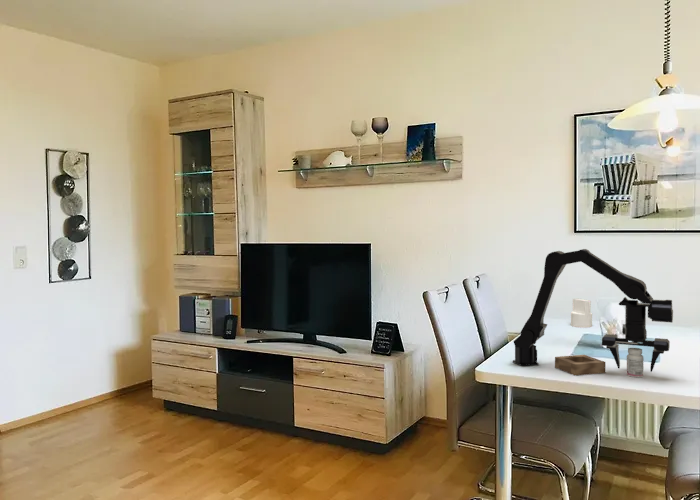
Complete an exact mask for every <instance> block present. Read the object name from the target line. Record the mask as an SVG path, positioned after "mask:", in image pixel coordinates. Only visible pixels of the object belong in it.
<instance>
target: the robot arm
mask: <svg viewBox="0 0 700 500" xmlns="http://www.w3.org/2000/svg"><path fill="white" fill-rule="evenodd" d="M580 262H581V263H583V264H584V265H586V266H587V267H589V268H591V269H592V270H593V271H596V273H598V274H599V275H601V276H603V277H604V278H605V279H608V280H609V281H610V282H612V283H613V284H614V285H615V286H616V287H617V288H618V289H619V290H620V291H621V292H622V293H623V294H624V295H625V297H623V299H622V300H621V301H619V303H618V305H619V306H625V315H624V316H625V317H624V318H625V322H624V323H623V324H622V327H621V328H622V329H621V330H622V331H621V334H622V335H624V337H619V336H618V334H610V333H609V334H607V333H606V334H604V335H603V336H602V338H601V346H602V347H603V346H605V347H606V349H608V350H609V351H610V352H611V354H612V356H613V358H614V361H615V364H616V366H617V368H618V369H620V368H621V359H620V352H619V350H620V349H619V348H620V346H619V345H627V346H628V345H629V346H638V347H639V346H640V347H650V348H651V347H652V348H653V350H652V354H651V362H650V372H651V373H652V372H653V370H654V368H655V365H656V362H657V360H658V358H659V356H660V354H663V355H664V353H665V352H669V351H670V343H671V342H670V340H669V339H668V338H659V337H655V338H654V340H647V339H648V338H647V336H648V334H647V332H648V331H647V329H646V325H647V324H646V323H647V322H646V321H647V320H646V317H647V318H648V319H649V320H651V322H657V323H673V321H674V319H673V318H674V309H673V300H672V299H654V298H653V297H652V295H651V294H650V293H649V292H648V290H647V284H646V283H645V281H643V280H642V279H640V278H637V277H636V276H635V277H634V276H632V275H630V274H626V273H624V272H622V271H620V270H618V269H617V268H615V267H614V266H612V265H611V264H609V263H608V262H607V261H605V260H603V259H602V258H600V257H599V256H597V255H595V254H593V252H591V251H590V250H589V249H587V248H583V249H578V250H574V251H568V252H564V251H560V250H556V251H552V252H550V253H548V254H547V255H546V257H545V260H544V268H543V270H544V273H543V274H544V275H543V279H542V282H541V284H540V287H539V291H538V294H537V297H536V299H535V303H534V305H533V309H532V311H531V314H530V316H529V317H528V319H527V321H525V323H524V325H523V326H522V328H521V331H520V334H519V336H518V337H516V338H515V340H513V345H514V360H512V363H515V364H517V365H519V366H521V367H526V366H527V367H528V366H537V365H540V363H539V362H538V350H537V345H536V343H537V341H538V340H540V339H541V338H542V337H543V336H544V335H545V330H546V328H547V326H548V324H547V323H544V317H545V314H546V311H547V308H548V306H549V303H550V300H551V298H552V295H553V291H554V288H555V285H556V283H557V280H558V278H559V277H560V276H561V274H562V272H563V271H564V269H565V267H566V266H567V265H570V264H575V263H580ZM626 296H627V297H628V298H629V299H628V298H627V297H626ZM646 310H647V311H646ZM646 312H647V313H646ZM646 314H647V315H646Z"/></svg>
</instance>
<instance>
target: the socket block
mask: <svg viewBox="0 0 700 500" xmlns="http://www.w3.org/2000/svg"><path fill="white" fill-rule="evenodd" d="M554 368H555V369H559V370H560V371H562V372H565V373H568V374H570V375H572V374H573V376H575V375H576V376H584V375H586V376H587V375H597V374H606V361H603V360H602V359H598V358H595V357H593V356H589V355H587V354H576V355H561V356H555V357H554Z"/></svg>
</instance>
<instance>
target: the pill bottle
mask: <svg viewBox="0 0 700 500" xmlns="http://www.w3.org/2000/svg"><path fill="white" fill-rule="evenodd" d="M627 353H628V354H627V355H626V376H628V377H631V378H642V377H644V355H643V349H642V348H639V347H628V348H627Z"/></svg>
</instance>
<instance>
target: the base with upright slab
mask: <svg viewBox="0 0 700 500" xmlns="http://www.w3.org/2000/svg"><path fill="white" fill-rule="evenodd" d="M591 303H592V301H591V300H587V299H582V298H572V311H571V312H570V326H571V327H573V328H580V329H582V328H583V329H588V328H592V327H593V313H592V311H591Z"/></svg>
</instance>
